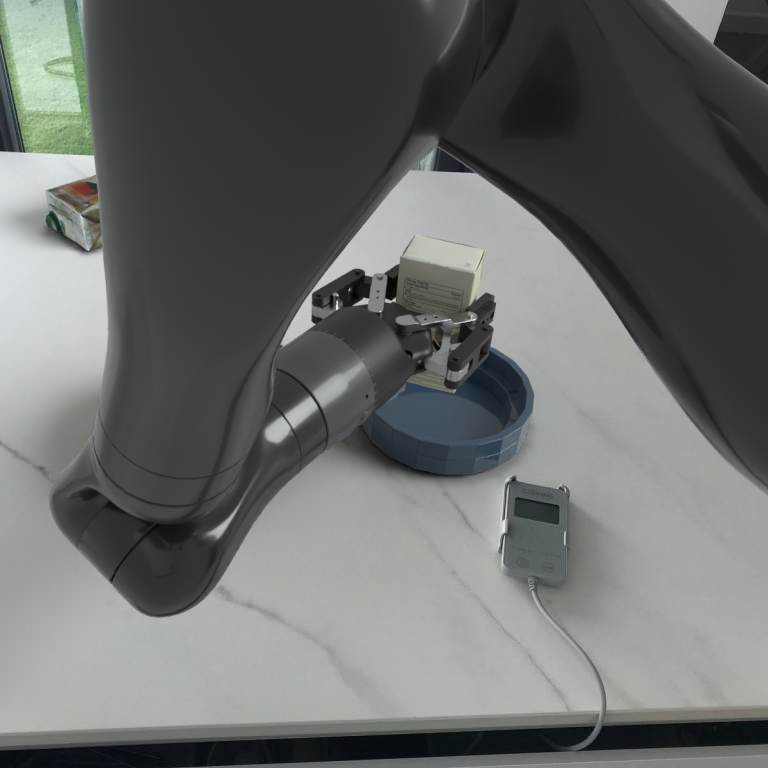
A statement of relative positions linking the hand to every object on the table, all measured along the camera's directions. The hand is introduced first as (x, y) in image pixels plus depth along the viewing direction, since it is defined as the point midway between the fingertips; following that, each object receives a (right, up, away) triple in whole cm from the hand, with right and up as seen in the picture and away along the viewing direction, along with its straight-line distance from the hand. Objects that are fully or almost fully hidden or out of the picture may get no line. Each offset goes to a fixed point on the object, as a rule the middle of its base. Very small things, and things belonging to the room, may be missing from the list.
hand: (449, 286), depth 65 cm
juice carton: (-42, +15, +45) cm, 63 cm away
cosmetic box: (-2, -7, +4) cm, 8 cm away
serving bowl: (+1, -12, +17) cm, 20 cm away
